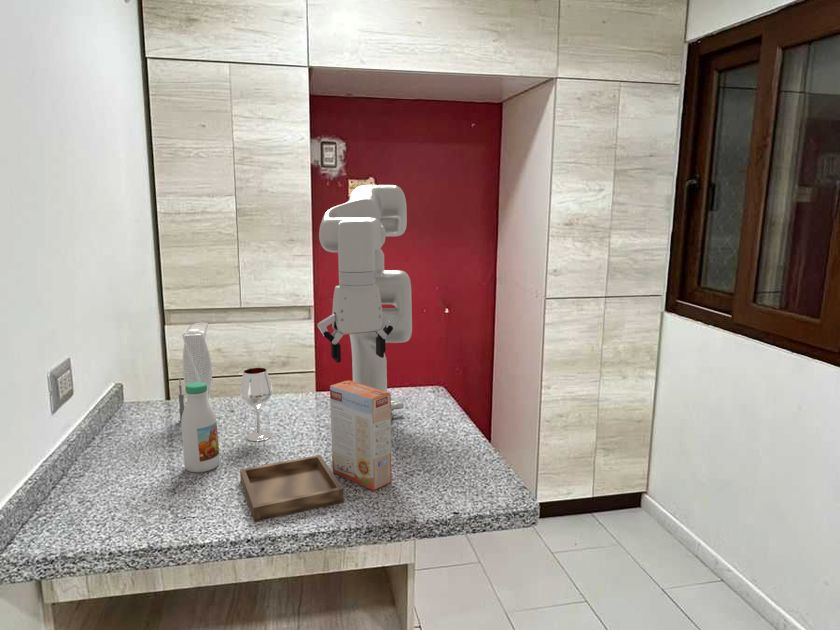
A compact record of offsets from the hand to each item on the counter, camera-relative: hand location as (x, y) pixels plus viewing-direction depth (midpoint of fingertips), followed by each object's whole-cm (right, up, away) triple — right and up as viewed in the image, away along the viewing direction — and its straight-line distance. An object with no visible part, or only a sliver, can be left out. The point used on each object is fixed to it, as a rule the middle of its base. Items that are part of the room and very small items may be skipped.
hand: (358, 358), depth 127 cm
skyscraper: (-49, -21, +40) cm, 66 cm away
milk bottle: (-38, -26, +11) cm, 47 cm away
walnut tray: (-15, -28, -1) cm, 32 cm away
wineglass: (-29, -23, +28) cm, 47 cm away
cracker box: (0, -27, +6) cm, 28 cm away
